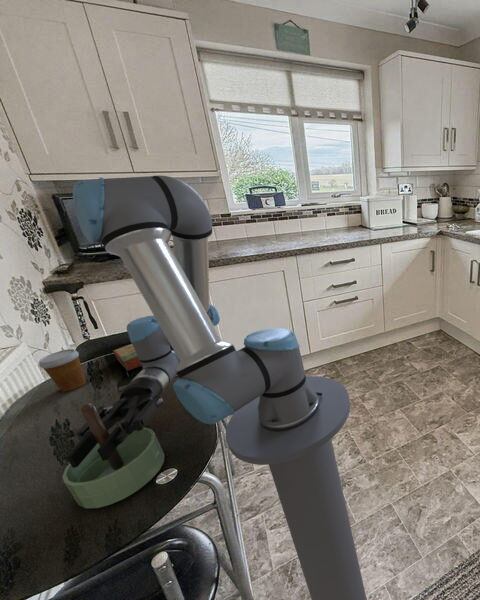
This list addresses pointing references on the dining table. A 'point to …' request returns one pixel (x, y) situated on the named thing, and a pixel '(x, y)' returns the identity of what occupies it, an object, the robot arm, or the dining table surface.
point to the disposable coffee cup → (64, 369)
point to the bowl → (120, 482)
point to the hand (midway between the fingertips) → (87, 458)
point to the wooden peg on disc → (103, 439)
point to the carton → (127, 357)
